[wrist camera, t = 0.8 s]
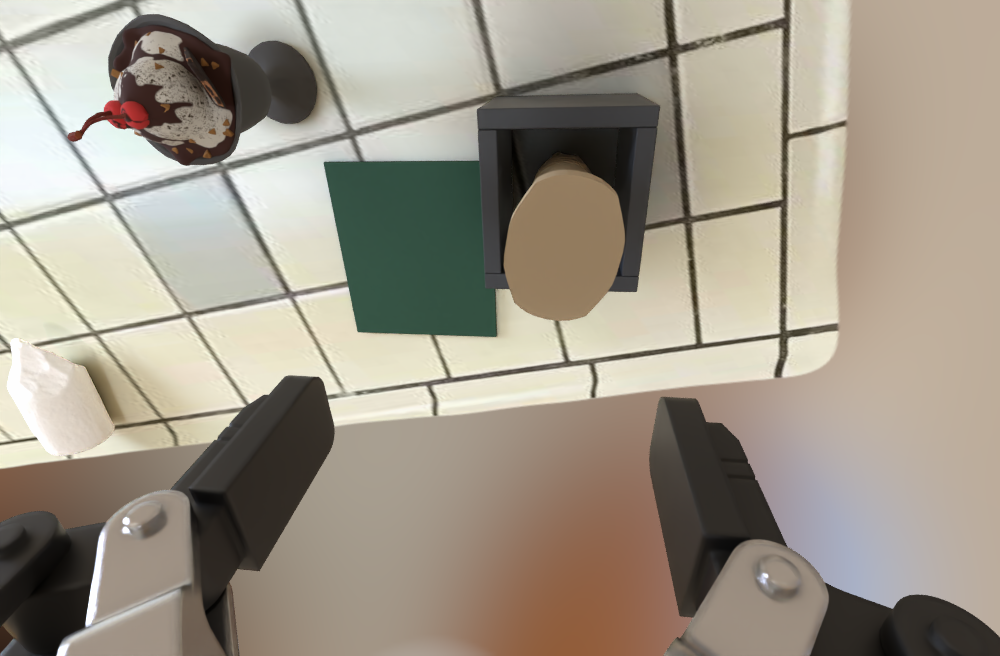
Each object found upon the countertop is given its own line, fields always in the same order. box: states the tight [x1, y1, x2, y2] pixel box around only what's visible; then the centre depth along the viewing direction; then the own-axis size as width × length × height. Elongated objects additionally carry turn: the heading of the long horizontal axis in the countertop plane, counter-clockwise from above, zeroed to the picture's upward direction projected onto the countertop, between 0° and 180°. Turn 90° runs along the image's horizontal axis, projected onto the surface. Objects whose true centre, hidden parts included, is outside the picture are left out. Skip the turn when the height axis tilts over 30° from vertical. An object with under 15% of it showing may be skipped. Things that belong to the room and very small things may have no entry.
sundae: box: [68, 14, 317, 166], centre depth 26 cm, size 7×7×15 cm
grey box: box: [477, 93, 660, 292], centre depth 30 cm, size 10×9×8 cm
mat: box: [324, 161, 497, 337], centre depth 37 cm, size 14×12×1 cm
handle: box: [504, 152, 625, 321], centre depth 27 cm, size 5×6×15 cm
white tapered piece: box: [7, 338, 115, 456], centre depth 45 cm, size 6×12×6 cm, turn 177°
